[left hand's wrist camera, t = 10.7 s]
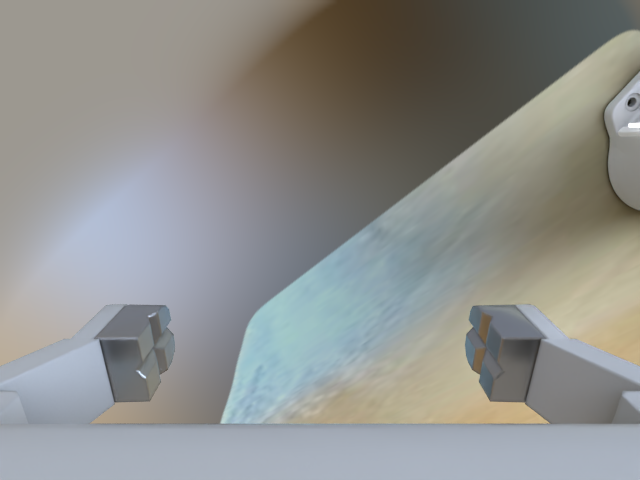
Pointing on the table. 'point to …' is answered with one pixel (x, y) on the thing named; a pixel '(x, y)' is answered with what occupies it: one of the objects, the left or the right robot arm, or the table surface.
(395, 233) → the table surface
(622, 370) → the left robot arm
